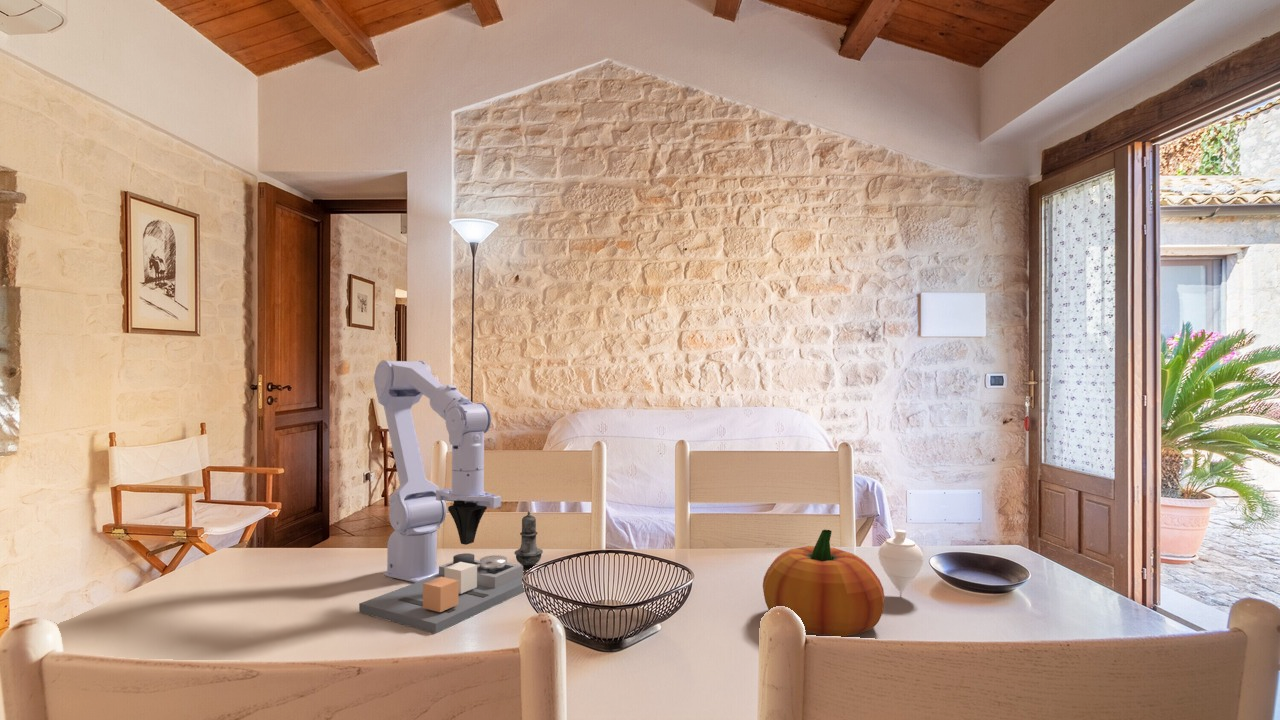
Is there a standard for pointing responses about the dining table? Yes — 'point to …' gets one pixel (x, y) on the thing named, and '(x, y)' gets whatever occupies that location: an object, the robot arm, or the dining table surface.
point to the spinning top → (900, 560)
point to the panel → (488, 593)
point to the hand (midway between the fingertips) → (467, 543)
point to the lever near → (440, 594)
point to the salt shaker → (528, 544)
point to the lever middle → (462, 575)
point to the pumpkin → (825, 589)
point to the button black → (464, 558)
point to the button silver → (493, 563)
